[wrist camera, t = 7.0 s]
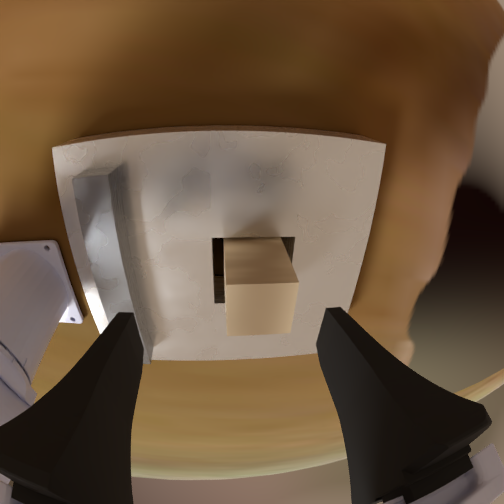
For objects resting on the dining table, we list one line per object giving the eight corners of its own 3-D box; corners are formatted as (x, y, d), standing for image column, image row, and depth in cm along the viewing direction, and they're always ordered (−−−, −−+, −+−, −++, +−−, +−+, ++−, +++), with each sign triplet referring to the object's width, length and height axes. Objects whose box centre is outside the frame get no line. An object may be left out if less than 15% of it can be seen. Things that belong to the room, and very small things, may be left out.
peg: (223, 261, 20) (226, 336, 14) (222, 218, 18) (226, 284, 12) (269, 260, 20) (290, 332, 14) (272, 218, 19) (299, 282, 13)
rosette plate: (118, 331, 22) (106, 372, 18) (75, 138, 14) (36, 154, 10) (324, 325, 24) (340, 365, 20) (362, 135, 16) (401, 150, 12)
